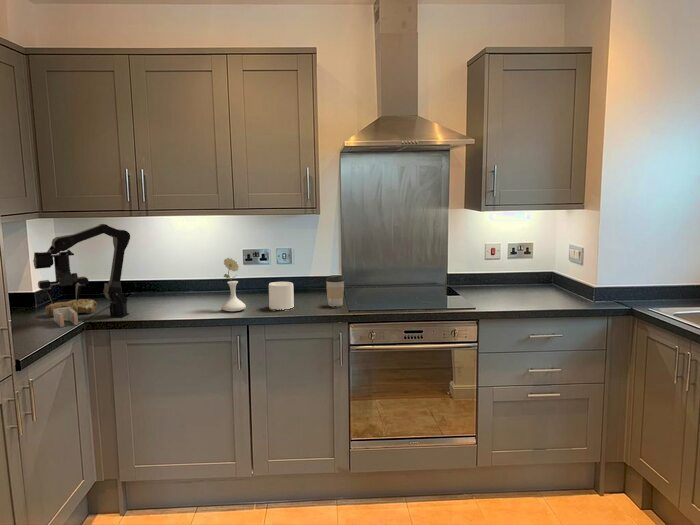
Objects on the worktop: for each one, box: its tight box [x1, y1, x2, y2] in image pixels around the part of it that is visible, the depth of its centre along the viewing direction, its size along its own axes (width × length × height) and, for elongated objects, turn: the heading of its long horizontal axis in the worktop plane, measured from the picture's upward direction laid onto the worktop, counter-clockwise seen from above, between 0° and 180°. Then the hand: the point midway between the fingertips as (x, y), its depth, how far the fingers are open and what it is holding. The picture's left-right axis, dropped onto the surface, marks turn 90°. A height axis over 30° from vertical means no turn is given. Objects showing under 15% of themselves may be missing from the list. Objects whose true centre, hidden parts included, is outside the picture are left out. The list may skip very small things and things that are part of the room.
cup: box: [268, 281, 295, 310], centre depth 265 cm, size 12×12×12 cm
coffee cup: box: [325, 274, 345, 307], centre depth 269 cm, size 9×9×15 cm
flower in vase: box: [221, 257, 247, 312], centre depth 260 cm, size 13×11×25 cm
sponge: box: [45, 298, 98, 316], centre depth 256 cm, size 13×8×20 cm
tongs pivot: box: [53, 307, 71, 322], centre depth 244 cm, size 2×7×5 cm, turn 127°
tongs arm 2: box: [68, 308, 79, 326], centre depth 239 cm, size 12×1×5 cm, turn 37°
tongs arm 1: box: [54, 310, 65, 328], centre depth 236 cm, size 12×1×5 cm, turn 37°
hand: (65, 302), depth 237 cm, fingers open, 9 cm apart
